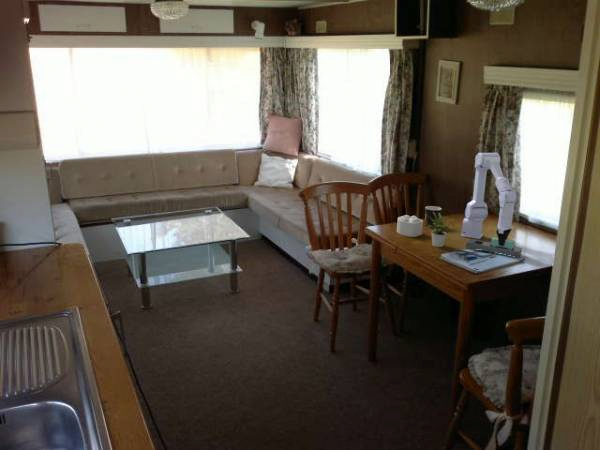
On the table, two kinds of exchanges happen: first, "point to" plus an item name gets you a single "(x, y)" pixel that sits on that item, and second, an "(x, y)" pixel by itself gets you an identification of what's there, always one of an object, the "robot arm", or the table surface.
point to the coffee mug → (431, 215)
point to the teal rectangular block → (508, 244)
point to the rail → (493, 248)
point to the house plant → (438, 231)
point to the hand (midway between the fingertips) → (502, 244)
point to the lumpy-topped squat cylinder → (409, 226)
